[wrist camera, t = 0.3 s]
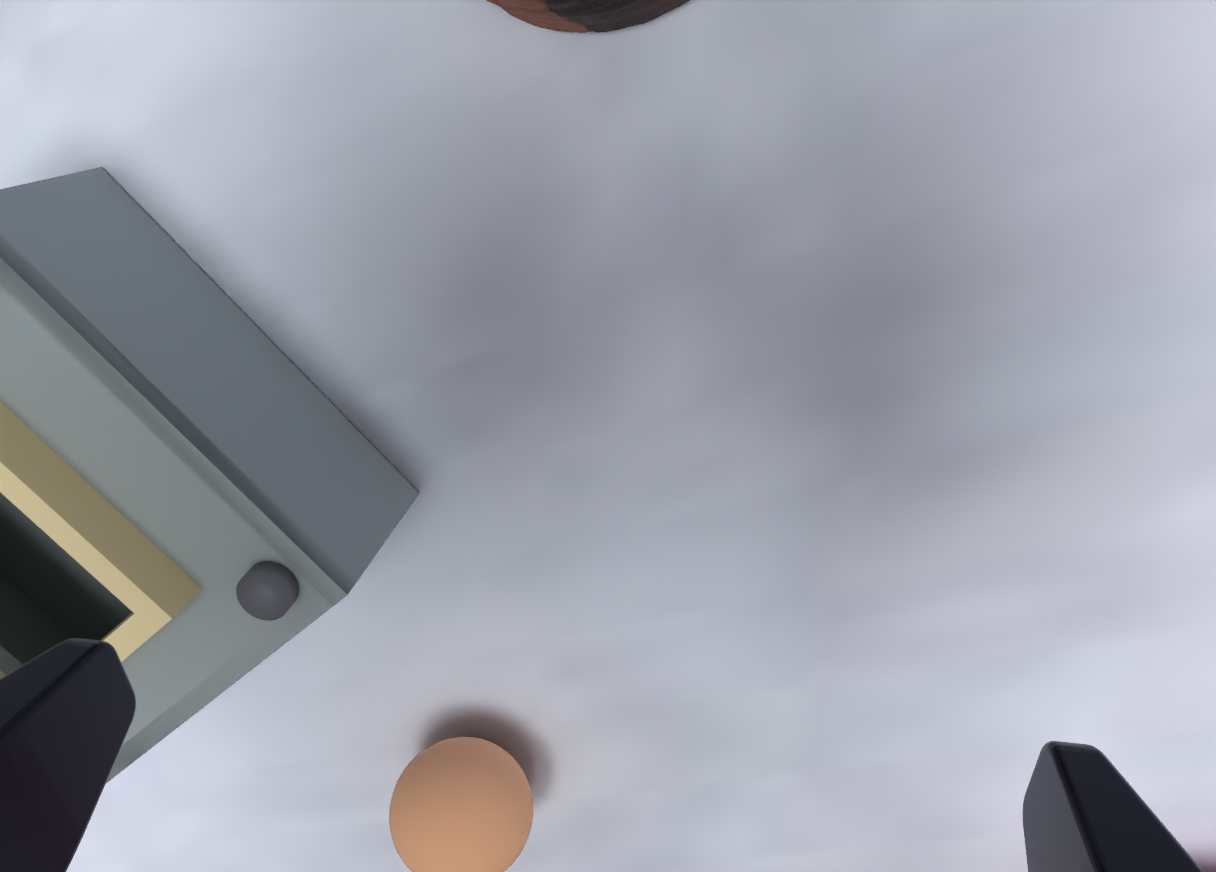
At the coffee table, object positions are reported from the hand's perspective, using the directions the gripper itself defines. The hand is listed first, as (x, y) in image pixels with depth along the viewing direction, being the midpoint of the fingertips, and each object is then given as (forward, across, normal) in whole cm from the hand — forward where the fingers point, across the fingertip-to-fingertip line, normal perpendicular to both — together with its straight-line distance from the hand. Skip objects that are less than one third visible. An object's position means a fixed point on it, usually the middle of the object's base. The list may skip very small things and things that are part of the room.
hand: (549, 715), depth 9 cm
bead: (+12, +6, +17) cm, 21 cm away
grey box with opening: (+13, +15, +8) cm, 21 cm away
